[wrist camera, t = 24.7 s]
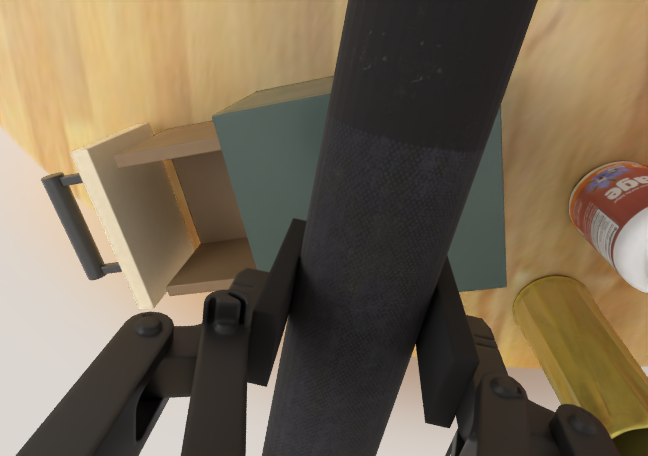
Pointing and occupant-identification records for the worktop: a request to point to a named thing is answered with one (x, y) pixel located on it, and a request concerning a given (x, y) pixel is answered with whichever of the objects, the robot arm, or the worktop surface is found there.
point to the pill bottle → (616, 217)
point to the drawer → (156, 211)
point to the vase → (585, 358)
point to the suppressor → (386, 209)
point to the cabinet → (300, 168)
